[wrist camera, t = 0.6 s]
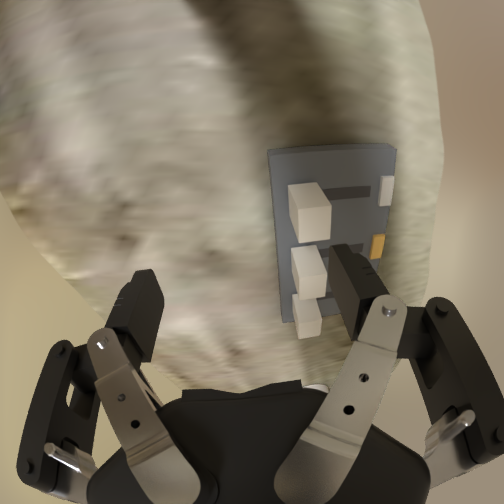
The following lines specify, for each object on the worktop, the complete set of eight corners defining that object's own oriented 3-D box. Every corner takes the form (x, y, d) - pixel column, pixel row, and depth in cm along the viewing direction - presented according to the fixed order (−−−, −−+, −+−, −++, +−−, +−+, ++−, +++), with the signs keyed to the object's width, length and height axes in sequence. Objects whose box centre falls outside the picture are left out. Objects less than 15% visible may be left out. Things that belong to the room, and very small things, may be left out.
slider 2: (292, 294, 36) (298, 323, 32) (313, 291, 36) (322, 319, 32) (292, 310, 39) (298, 339, 35) (312, 307, 38) (320, 335, 35)
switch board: (267, 149, 26) (270, 157, 24) (388, 143, 26) (398, 150, 24) (281, 313, 42) (283, 325, 41) (362, 299, 42) (367, 310, 40)
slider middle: (291, 248, 31) (299, 277, 27) (315, 244, 31) (327, 273, 27) (291, 270, 34) (299, 300, 30) (315, 267, 34) (324, 296, 30)
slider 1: (287, 185, 26) (297, 209, 23) (316, 182, 26) (331, 205, 22) (289, 215, 29) (298, 243, 25) (316, 212, 29) (329, 239, 25)
